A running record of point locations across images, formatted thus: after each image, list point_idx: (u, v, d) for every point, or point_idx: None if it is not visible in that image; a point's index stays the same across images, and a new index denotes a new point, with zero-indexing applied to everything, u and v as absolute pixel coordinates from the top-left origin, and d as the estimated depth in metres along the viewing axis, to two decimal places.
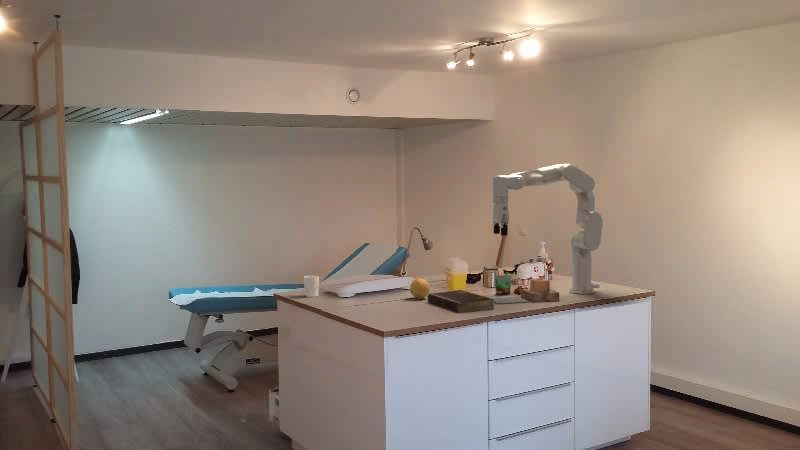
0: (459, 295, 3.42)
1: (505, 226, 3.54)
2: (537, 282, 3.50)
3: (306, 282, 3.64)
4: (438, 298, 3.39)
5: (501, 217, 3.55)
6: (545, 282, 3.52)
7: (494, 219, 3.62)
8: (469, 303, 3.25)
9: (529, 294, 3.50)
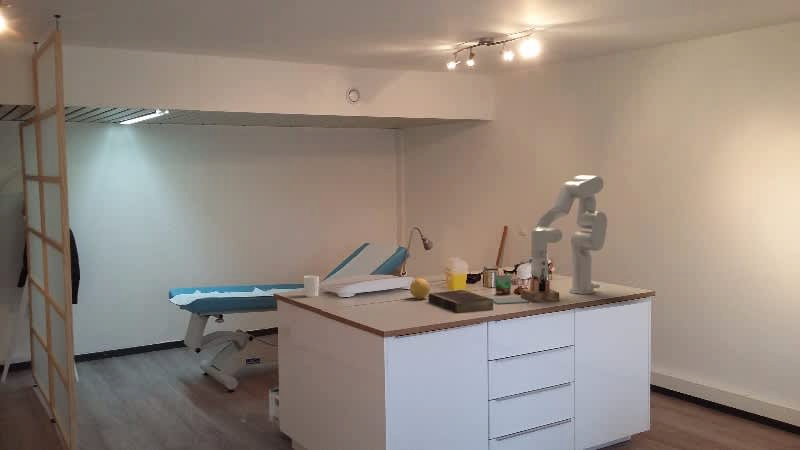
0: (459, 295, 3.42)
1: (543, 282, 3.49)
2: (537, 282, 3.50)
3: (306, 282, 3.64)
4: (438, 298, 3.40)
5: (540, 272, 3.49)
6: None
7: (532, 273, 3.56)
8: (468, 303, 3.25)
9: (529, 294, 3.50)
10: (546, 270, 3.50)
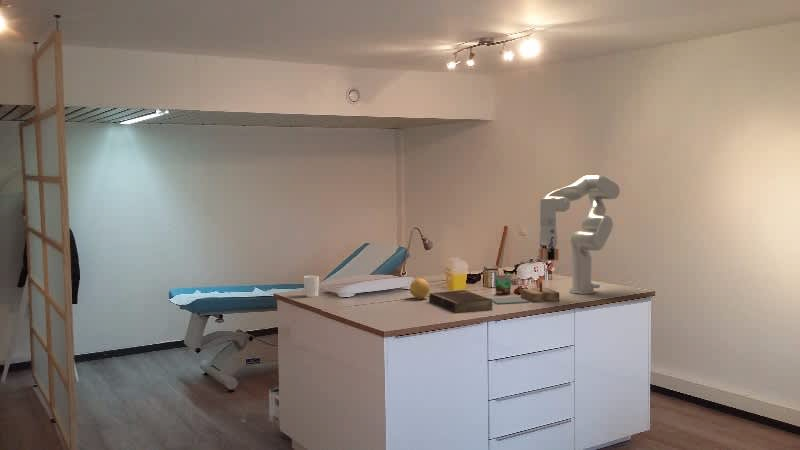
0: (459, 295, 3.42)
1: (552, 250, 3.49)
2: (546, 250, 3.50)
3: (306, 282, 3.64)
4: (438, 298, 3.40)
5: (549, 240, 3.49)
6: None
7: (541, 241, 3.56)
8: (466, 303, 3.25)
9: (529, 294, 3.50)
10: (555, 238, 3.49)
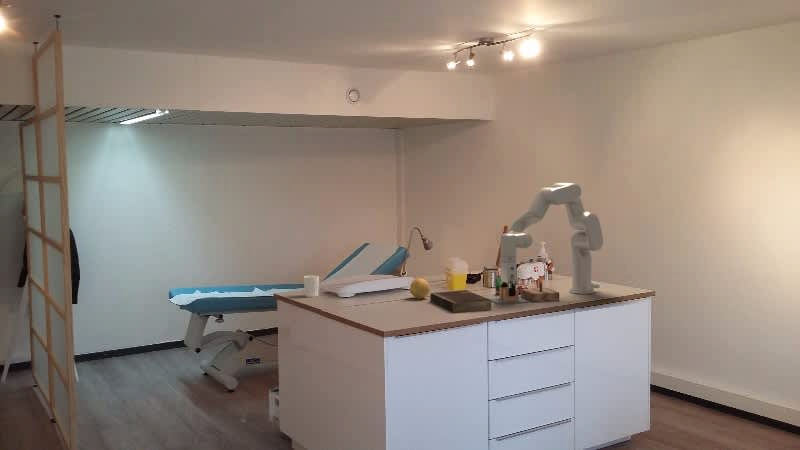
0: (460, 295, 3.42)
1: (513, 287, 3.44)
2: (506, 291, 3.46)
3: (306, 282, 3.64)
4: (438, 297, 3.41)
5: (509, 277, 3.44)
6: None
7: (502, 278, 3.51)
8: (465, 303, 3.25)
9: (529, 294, 3.50)
10: (515, 275, 3.45)
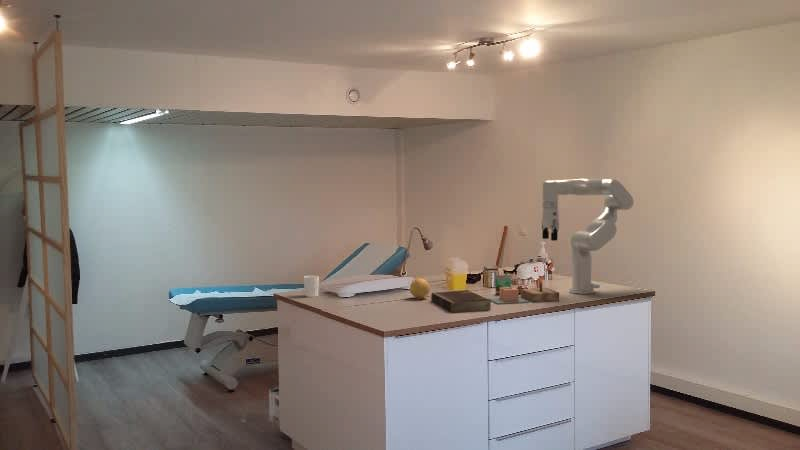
0: (460, 295, 3.42)
1: (555, 231, 3.57)
2: (506, 291, 3.46)
3: (306, 282, 3.64)
4: (438, 297, 3.41)
5: (551, 222, 3.57)
6: (514, 291, 3.47)
7: (543, 224, 3.65)
8: (463, 303, 3.25)
9: (529, 294, 3.50)
10: (557, 221, 3.58)
